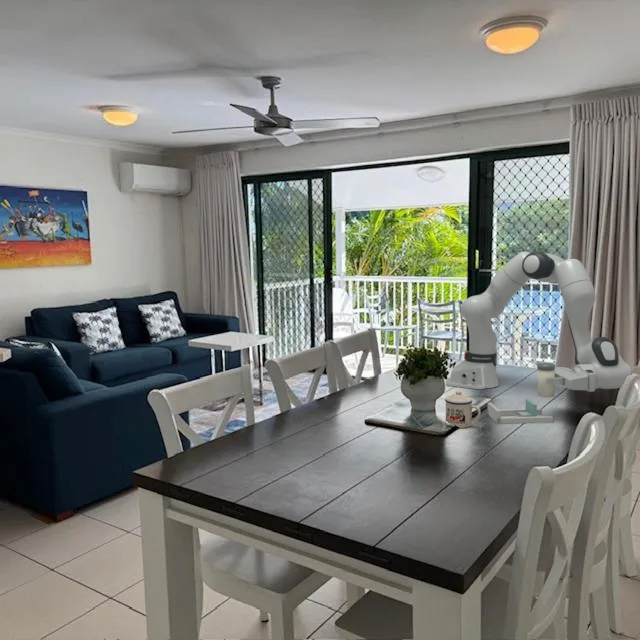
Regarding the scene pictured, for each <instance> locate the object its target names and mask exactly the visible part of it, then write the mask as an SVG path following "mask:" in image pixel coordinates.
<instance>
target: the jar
mask: <svg viewBox="0 0 640 640" xmlns="http://www.w3.org/2000/svg"><path fill="white" fill-rule="evenodd" d="M555 367H556V364H555V363H552V362H551V363H550V362H539V363H538V362H537V366H536V369H537V387H536V388H537V392H536V393H537V396H538V397H541V398H548V399H549V398H554V397H555V384H553V383H552V384H549V383H547V378H550V377H552V378H555Z"/></svg>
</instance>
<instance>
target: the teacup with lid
mask: <svg viewBox="0 0 640 640" xmlns="http://www.w3.org/2000/svg"><path fill="white" fill-rule="evenodd" d="M444 401H445V422H446V421H447V422H448V423H452V424H455V425H456V426H457V427H459V428H458V429H466V428H465V427H467V428H469V426H470V427H471V426H472V421H476V420H478V419H479V418H480V416H481V408H480V407H479V406H477V405H474V404H473V399H472V397H470V396H469V395H466V394H464V393H463V392H462V390H456V391H455V393H452V395H448V396H446V397H445V399H444ZM473 409H476V411H477V415H476V416H475V417H472V414H473V413H472V410H473Z"/></svg>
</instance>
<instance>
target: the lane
mask: <svg viewBox="0 0 640 640" xmlns="http://www.w3.org/2000/svg"><path fill="white" fill-rule="evenodd" d="M518 412H525V408H509V409H508V408H504V409H502V408H501V409H500V408H498V407H497V406H496V405H494V404H493V403H492V402H487V415H489V416H490V417H491V418H492V419H493V422H494V423H495V424H497V423H512V424H527V423H526V422H551V423H554V417H553V416H552V415H545V416H544V415H543V409H542V408H538V407H537V414H541V415H542V416H541V415H537V416H534V417H519V416H518ZM501 415H502V416H501ZM489 416H488V417H489ZM504 416H505V417H504ZM490 417H489V418H490Z"/></svg>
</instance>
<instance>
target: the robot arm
mask: <svg viewBox="0 0 640 640" xmlns="http://www.w3.org/2000/svg"><path fill="white" fill-rule="evenodd" d="M530 279H531V280H535V281H538V282H543V283H550V284H554V285H555V284H557V285H558V288H559V290H560V294H561V296H562V299H563V302H564V306H565V311H566V316H567V323H568V327H569V330H570V334H571V339H572V341H573V347H574V352H575V354H574V363H575V365H574V367H572V368H569V367H562V366H555V378H552V377H550V378H547V383H549V384H552V383H553V384H554V385H561V386H562V387H564V388H566V389H567V390H573V391H586V392H589V393H591V392H595V391H596V389H602V390H614V389H620V388H623V387H622V385H623V384H624V382H625V380H626V378H627V376H629V375H632V376H633V372H632V371H633V370H632V367H631V366H630V365H629V364H628V363H626V361H624V359H623V357H622V356H621V355H620V352H619V350H618V346H617V344H616V343H615V342H614V340H612V339H611V338H609V337H606V336H598V337H595V338H594V339H593V340H592V337H591V333H590V330H589V325H588V324H589V317H590V313H591V311H592V309H593V307H594V305H595V302H596V299H597V298H596V291H595V287H594V285H593V281H592V279H591V277H590V275H589V273H588V271H587V269H586V268H585V266H584V264H583V263H582V261H580V260H579V259H577V258H567V259H566V258H564V257H563V256H562V257H561V256H558V255H556V254H552V253H547V252H543V251H532V252H529V251H521V252H519V253H517V254H516V255H515V256H514V257H512V258H511V259H510V260H509V261H508V262H507V263H506V264H504V266H503V267H502V268H501V269H500V270H499V271H498V272H497V273H496V274H495V275H494V276H493V277H492V278H491V280H490V284H489V286H488V287H487V288H486V290H485V291H483V292H482V293H480V294H476V295H472V296H469V297H468V298H466V299H465V300H464V301H463V302H462V303H461V306H460V314H461V315H462V317H463V318H464V319H465V321H466V326H467V330H468V338H469V339H468V344H469V345H468V349H469V350H465V351H464V360H463V361H461V362H460V363H458V364H457V365H456V366H454V367H453V368H452V370H451V373H450V377H448V378H447V379H446V380H445V382H446V384H445V385H446V386H448V387H456V388H457V387H458V388H465V389H472V390H484V389H491V388H492V389H493V388H495V387H496V388H497V387H499V386H500V383H499V378H498V371H497V365H498V353H497V333H496V332H495V331H494V329H493V325H492V319H495V318H497V317H498V316H500V315H502V313H503V312H504V311H505V308H506V307H507V305H508V303H510V301H511V299H512V298H513V297H514V296H515V295H516V294H517V293H518V292H519V291H520V290H521V289H522V288H523V287H524V286H525V285H526V284H527V283H528V282H529V280H530Z"/></svg>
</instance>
